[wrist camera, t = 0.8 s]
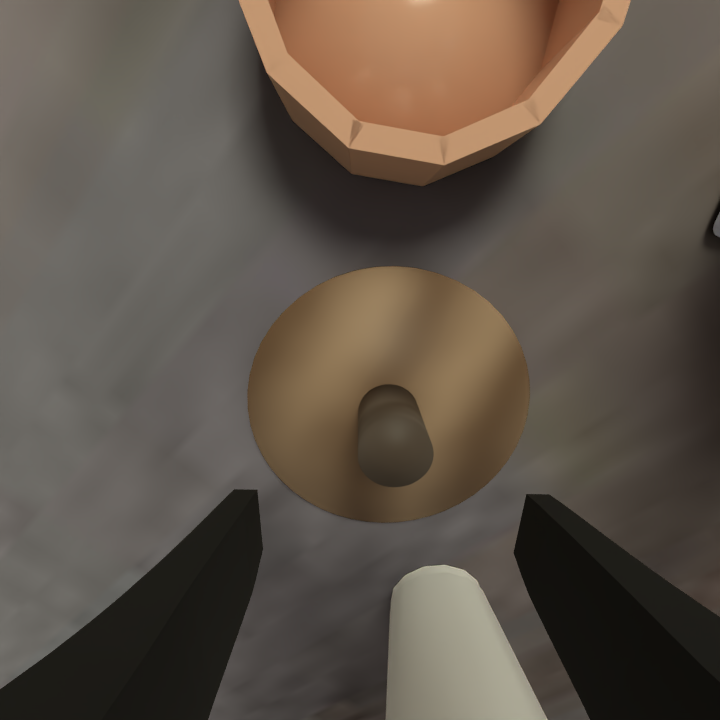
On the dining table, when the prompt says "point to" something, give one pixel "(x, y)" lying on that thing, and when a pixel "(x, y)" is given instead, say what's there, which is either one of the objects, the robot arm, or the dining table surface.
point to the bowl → (425, 74)
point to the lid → (388, 394)
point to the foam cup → (451, 653)
